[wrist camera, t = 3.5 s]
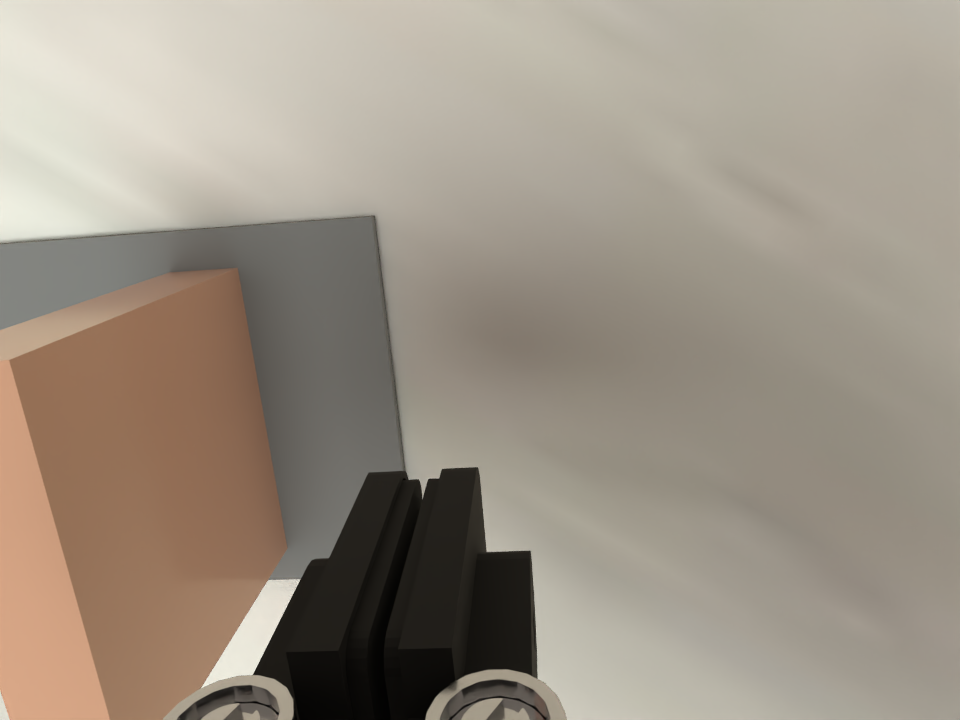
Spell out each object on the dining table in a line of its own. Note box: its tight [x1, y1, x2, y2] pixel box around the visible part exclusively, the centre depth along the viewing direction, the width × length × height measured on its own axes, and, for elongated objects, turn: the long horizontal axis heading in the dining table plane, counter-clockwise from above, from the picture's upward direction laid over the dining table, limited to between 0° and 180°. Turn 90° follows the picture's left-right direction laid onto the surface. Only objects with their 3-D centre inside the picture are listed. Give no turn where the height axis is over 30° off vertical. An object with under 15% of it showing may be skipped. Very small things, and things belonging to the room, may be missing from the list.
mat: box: [0, 216, 405, 580], centre depth 19 cm, size 10×14×1 cm
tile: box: [0, 268, 287, 720], centre depth 15 cm, size 8×2×8 cm, turn 5°
